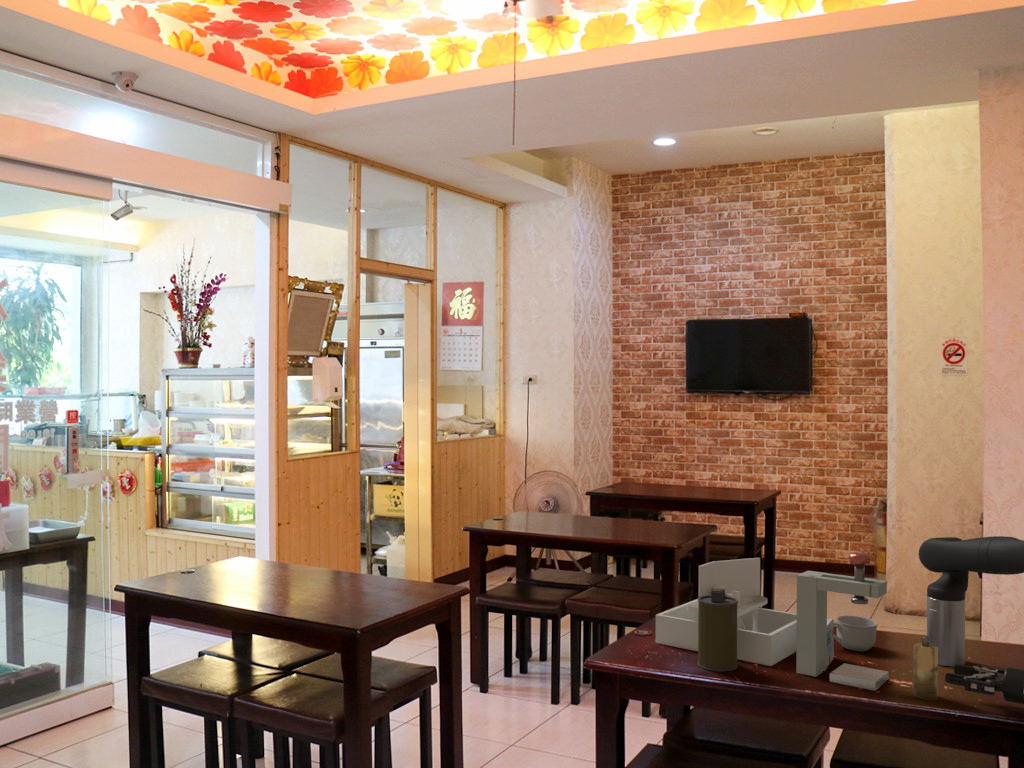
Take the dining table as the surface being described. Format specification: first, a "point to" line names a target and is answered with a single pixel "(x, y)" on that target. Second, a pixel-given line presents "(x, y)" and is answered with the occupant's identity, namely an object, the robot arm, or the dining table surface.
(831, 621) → the light bulb box
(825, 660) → the press frame
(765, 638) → the box
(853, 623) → the teacup
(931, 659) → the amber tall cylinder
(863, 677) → the plate
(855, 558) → the ram
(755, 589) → the upright panel with ledge
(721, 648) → the canister
